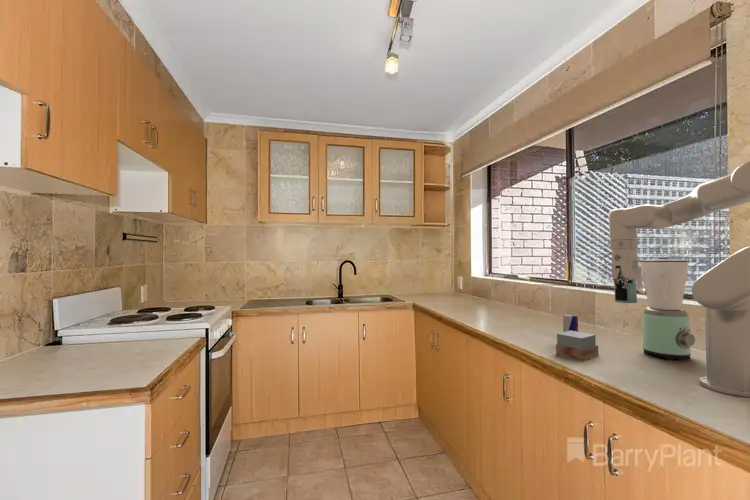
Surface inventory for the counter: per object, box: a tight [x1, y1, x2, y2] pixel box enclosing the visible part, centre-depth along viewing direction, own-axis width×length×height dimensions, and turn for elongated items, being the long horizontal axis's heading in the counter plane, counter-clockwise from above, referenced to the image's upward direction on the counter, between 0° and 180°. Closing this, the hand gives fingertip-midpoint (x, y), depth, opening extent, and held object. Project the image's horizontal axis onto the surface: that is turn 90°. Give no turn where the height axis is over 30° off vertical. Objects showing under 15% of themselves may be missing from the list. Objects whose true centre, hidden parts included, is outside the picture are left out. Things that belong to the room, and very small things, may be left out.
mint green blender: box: [635, 256, 696, 362], centre depth 124 cm, size 19×13×35 cm
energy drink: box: [562, 313, 579, 332], centre depth 140 cm, size 5×5×12 cm
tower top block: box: [556, 330, 597, 350], centre depth 127 cm, size 9×9×4 cm
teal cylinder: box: [613, 283, 638, 304], centre depth 115 cm, size 6×6×6 cm
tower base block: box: [555, 343, 599, 361], centre depth 127 cm, size 10×10×4 cm
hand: (625, 298), depth 115 cm, fingers closed on teal cylinder, 6 cm apart
